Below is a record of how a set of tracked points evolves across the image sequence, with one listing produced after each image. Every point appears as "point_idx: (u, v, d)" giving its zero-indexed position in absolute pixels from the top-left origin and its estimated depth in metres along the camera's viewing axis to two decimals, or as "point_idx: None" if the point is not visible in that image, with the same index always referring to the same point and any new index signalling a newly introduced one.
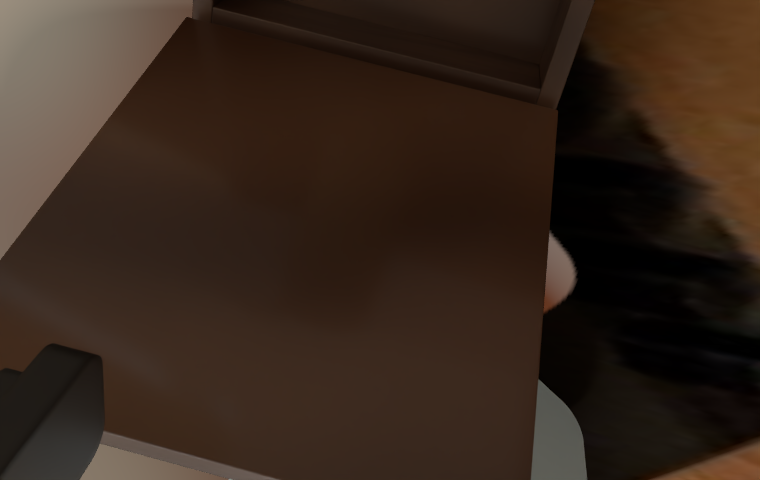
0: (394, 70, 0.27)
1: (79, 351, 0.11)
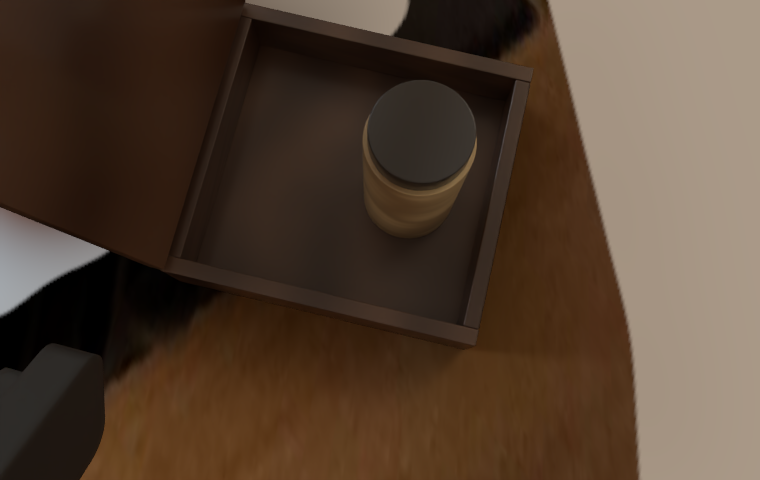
0: (200, 145, 0.35)
1: (79, 351, 0.11)
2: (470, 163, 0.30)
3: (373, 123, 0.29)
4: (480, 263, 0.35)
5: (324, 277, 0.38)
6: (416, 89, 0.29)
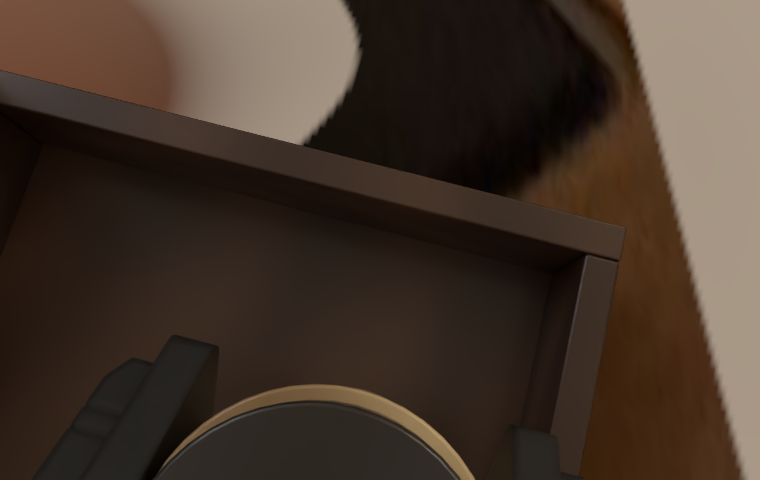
0: None
1: (201, 342, 0.11)
2: None
3: None
4: None
5: None
6: (292, 440, 0.08)
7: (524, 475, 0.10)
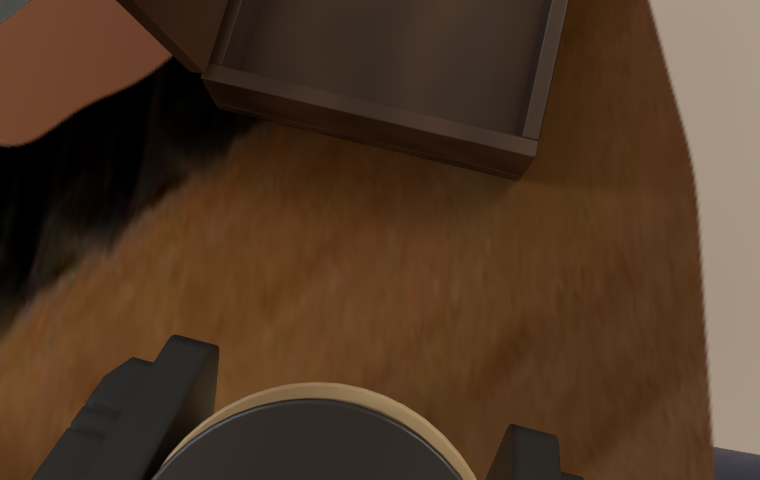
0: None
1: (201, 342, 0.11)
2: None
3: None
4: (540, 74, 0.33)
5: None
6: (293, 438, 0.08)
7: (524, 475, 0.10)
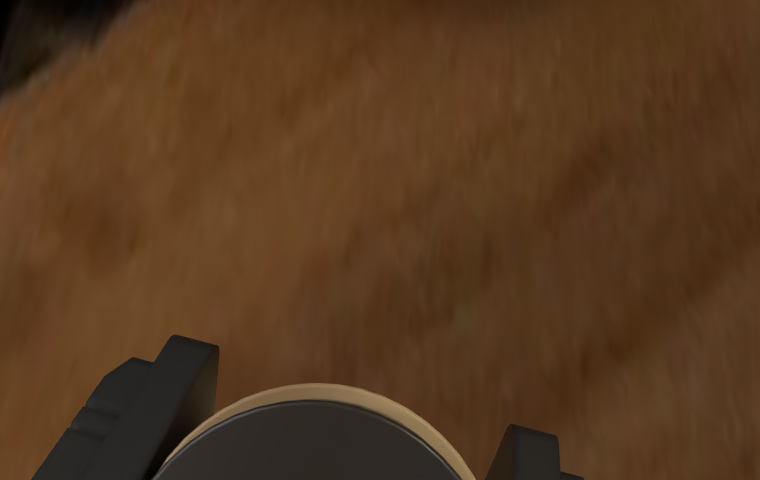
0: None
1: (201, 341, 0.11)
2: None
3: None
4: None
5: None
6: (292, 439, 0.08)
7: (524, 475, 0.10)
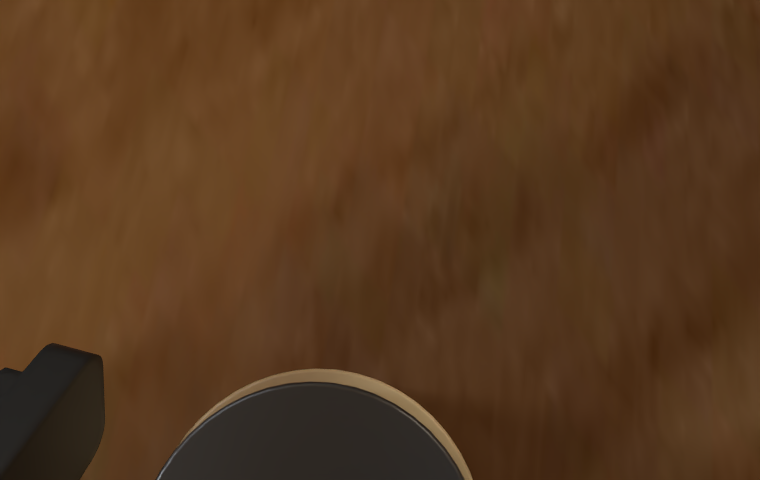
0: None
1: (79, 351, 0.11)
2: None
3: None
4: None
5: None
6: (297, 416, 0.09)
7: None
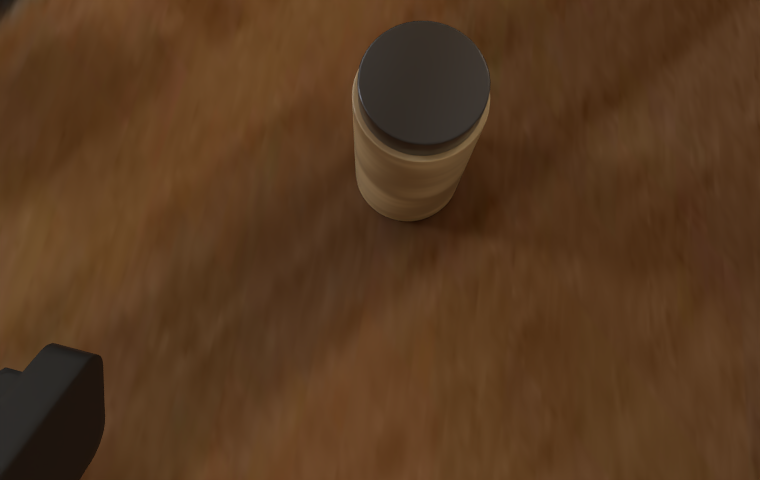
0: None
1: (79, 351, 0.11)
2: (482, 124, 0.25)
3: (365, 71, 0.24)
4: None
5: None
6: (418, 32, 0.24)
7: None
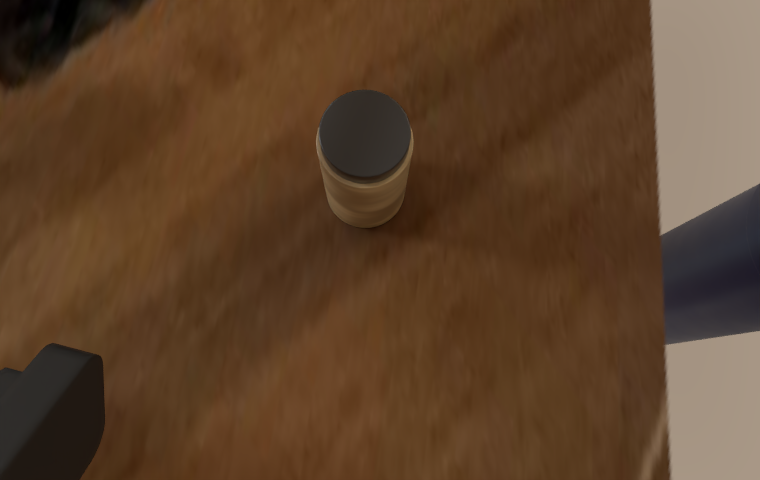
0: None
1: (79, 351, 0.11)
2: (407, 161, 0.35)
3: (324, 126, 0.34)
4: None
5: None
6: (361, 97, 0.34)
7: None
